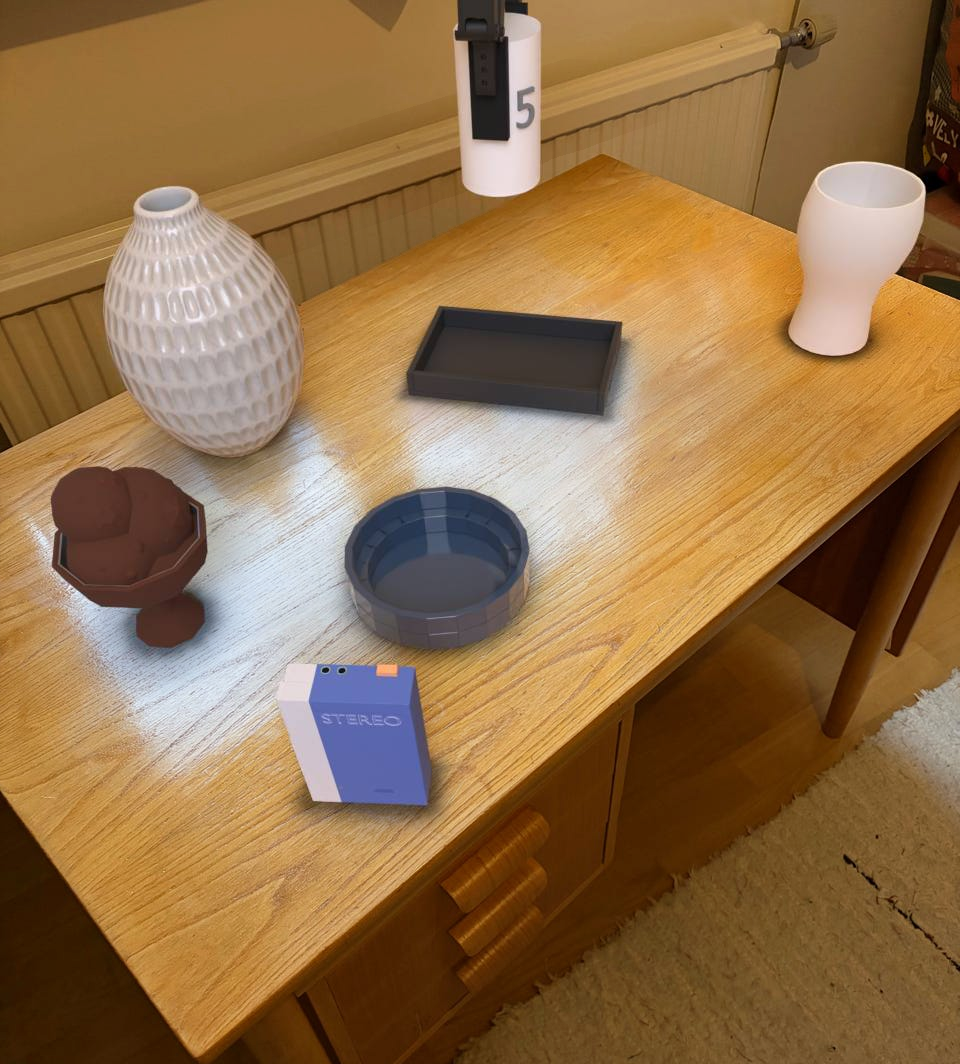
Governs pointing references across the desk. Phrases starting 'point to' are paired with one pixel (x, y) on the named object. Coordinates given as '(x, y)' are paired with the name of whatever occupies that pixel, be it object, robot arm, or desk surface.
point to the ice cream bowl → (132, 547)
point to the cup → (852, 250)
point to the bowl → (438, 567)
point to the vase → (202, 326)
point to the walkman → (357, 732)
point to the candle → (518, 158)
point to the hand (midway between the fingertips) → (501, 118)
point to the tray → (517, 359)
